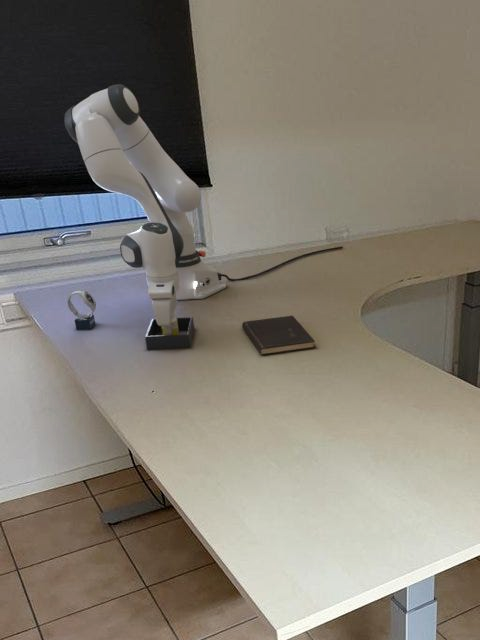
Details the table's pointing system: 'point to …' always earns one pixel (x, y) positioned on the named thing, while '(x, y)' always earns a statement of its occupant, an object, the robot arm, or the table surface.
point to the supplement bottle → (173, 325)
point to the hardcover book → (278, 335)
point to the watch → (83, 319)
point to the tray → (170, 340)
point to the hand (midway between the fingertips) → (170, 330)
